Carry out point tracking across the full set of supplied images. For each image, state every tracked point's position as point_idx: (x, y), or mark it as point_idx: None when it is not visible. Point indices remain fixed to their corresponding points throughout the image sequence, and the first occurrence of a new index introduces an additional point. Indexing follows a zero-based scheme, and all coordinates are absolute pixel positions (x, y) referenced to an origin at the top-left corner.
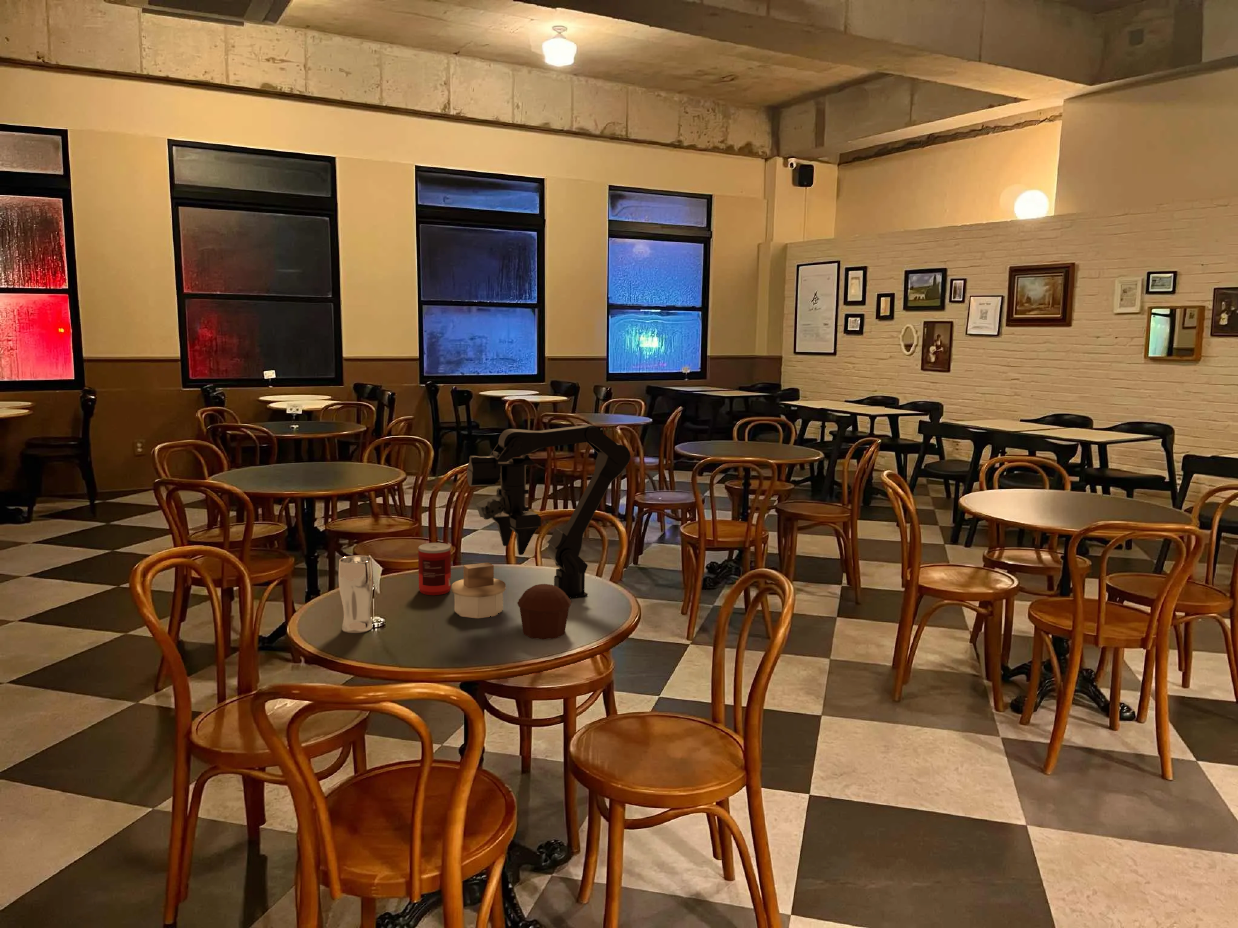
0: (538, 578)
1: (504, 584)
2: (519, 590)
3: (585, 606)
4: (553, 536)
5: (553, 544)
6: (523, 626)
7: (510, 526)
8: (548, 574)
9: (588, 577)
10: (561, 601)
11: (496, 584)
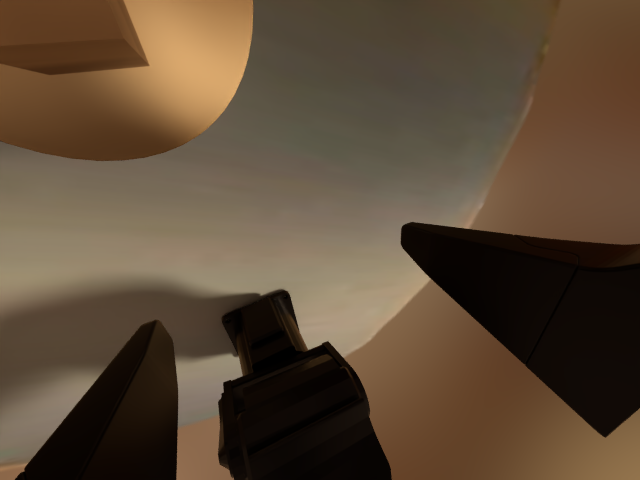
0: (389, 260)
1: (70, 151)
2: (325, 215)
3: None
4: (361, 449)
5: (298, 444)
6: None
7: (514, 333)
8: (403, 278)
9: (360, 341)
10: None
11: (64, 98)
